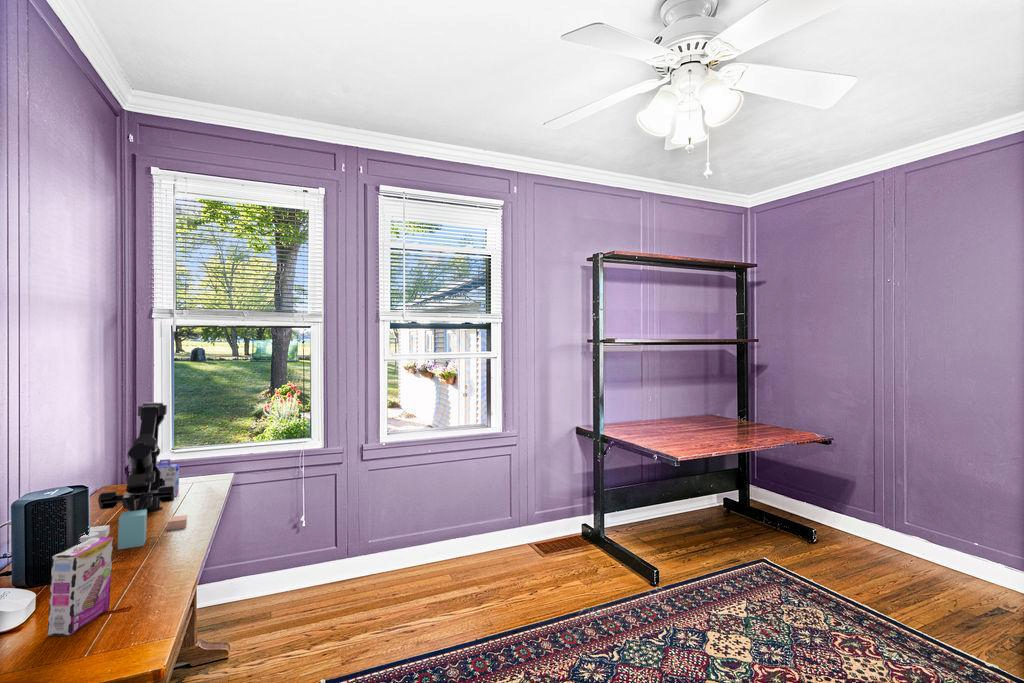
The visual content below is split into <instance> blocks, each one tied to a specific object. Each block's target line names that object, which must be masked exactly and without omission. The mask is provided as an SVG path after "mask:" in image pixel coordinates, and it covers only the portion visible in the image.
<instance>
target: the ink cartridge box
mask: <svg viewBox="0 0 1024 683" xmlns="http://www.w3.org/2000/svg"><path fill="white" fill-rule="evenodd" d="M157 467H158V469H159V470H160V471H161V477H163V479H164V480H165V486H171V485H172V486H173V487H174V498H175V497H176V496H178V495H179V493H180V492H179V490H180V463H177V464H171V458H169V459H168V458H167V459H159V463H158V465H157Z"/></svg>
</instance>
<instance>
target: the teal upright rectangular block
mask: <svg viewBox="0 0 1024 683" xmlns="http://www.w3.org/2000/svg"><path fill="white" fill-rule="evenodd" d="M147 520H148V513H147V509H145V510H137V511H123V512H121V514H120V515H119V517H118V530H117V550H118V551H119V550H124V549H130V548H137V547H138V548H139V547H143V546H145V542H146V540H147V524H148V523H147V522H148V521H147Z"/></svg>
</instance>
